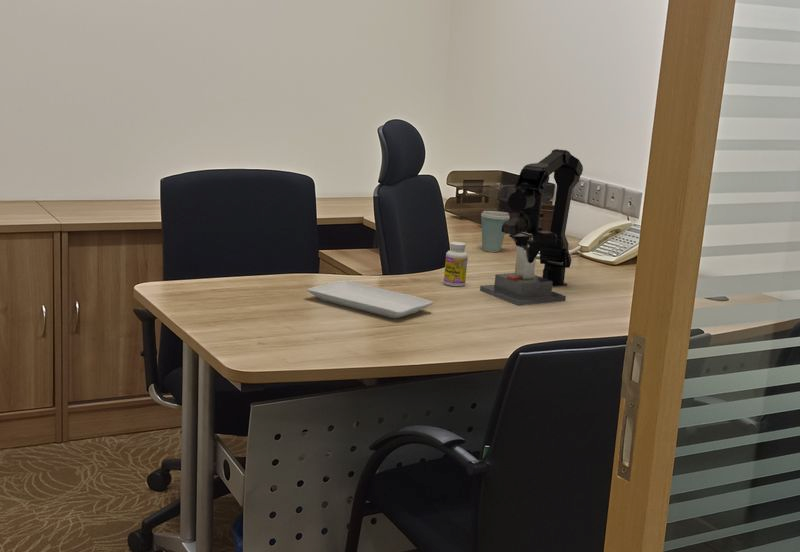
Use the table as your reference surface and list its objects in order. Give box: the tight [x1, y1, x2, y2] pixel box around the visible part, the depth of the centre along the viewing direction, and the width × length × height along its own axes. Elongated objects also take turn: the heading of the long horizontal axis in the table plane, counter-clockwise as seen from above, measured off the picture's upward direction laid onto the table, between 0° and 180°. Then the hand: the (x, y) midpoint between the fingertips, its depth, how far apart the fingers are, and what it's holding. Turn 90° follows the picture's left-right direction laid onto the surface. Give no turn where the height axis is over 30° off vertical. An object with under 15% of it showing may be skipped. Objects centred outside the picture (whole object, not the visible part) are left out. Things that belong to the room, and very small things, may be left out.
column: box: [514, 245, 537, 280], centre depth 274 cm, size 6×4×11 cm
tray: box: [306, 279, 435, 319], centre depth 251 cm, size 17×31×4 cm, turn 54°
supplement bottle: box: [443, 241, 469, 288], centre depth 283 cm, size 7×7×13 cm
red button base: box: [479, 272, 567, 306], centre depth 275 cm, size 18×18×6 cm
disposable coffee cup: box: [480, 210, 511, 253], centre depth 344 cm, size 11×11×15 cm
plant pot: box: [528, 203, 554, 245], centre depth 357 cm, size 16×16×16 cm
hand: (525, 261), depth 274 cm, fingers closed on column, 4 cm apart
